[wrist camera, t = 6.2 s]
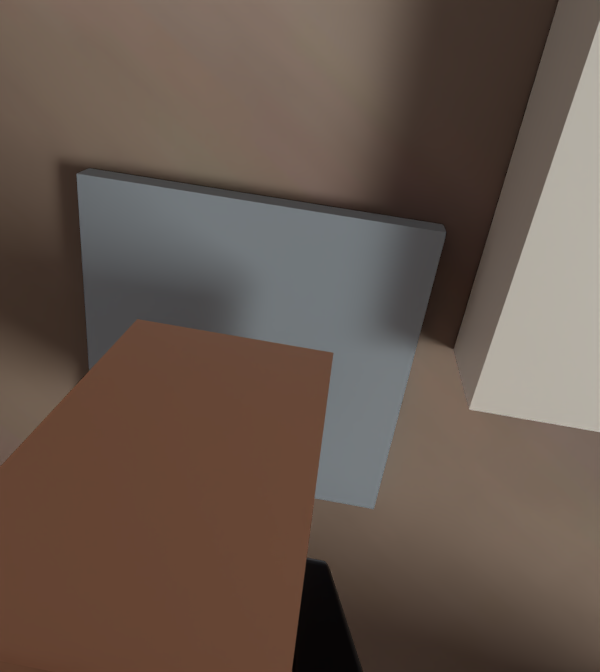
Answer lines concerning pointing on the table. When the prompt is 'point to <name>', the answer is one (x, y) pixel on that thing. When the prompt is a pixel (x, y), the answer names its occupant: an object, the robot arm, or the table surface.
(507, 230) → the white flat block
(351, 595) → the table surface
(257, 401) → the plug
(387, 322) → the pad
